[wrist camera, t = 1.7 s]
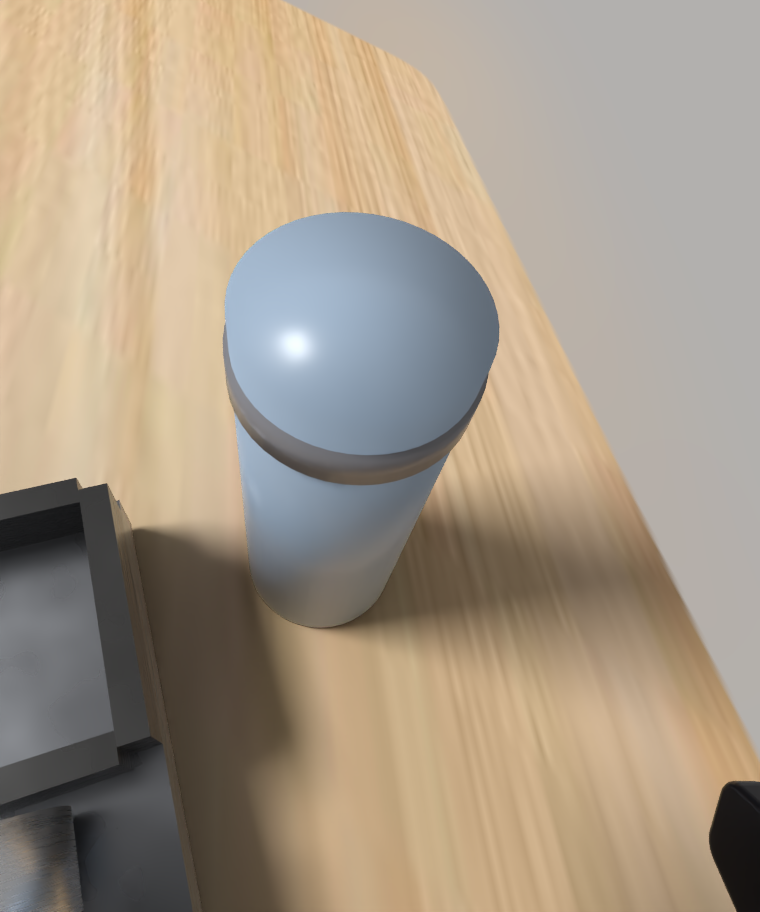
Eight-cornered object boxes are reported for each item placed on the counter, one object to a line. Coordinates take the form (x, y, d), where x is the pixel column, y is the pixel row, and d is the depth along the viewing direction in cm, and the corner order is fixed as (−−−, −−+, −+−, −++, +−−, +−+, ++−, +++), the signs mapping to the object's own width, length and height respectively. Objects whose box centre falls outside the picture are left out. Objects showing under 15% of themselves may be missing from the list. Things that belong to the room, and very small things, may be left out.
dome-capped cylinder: (413, 605, 23) (551, 395, 11) (267, 650, 21) (260, 461, 10) (366, 477, 25) (443, 195, 14) (231, 510, 23) (191, 226, 12)
